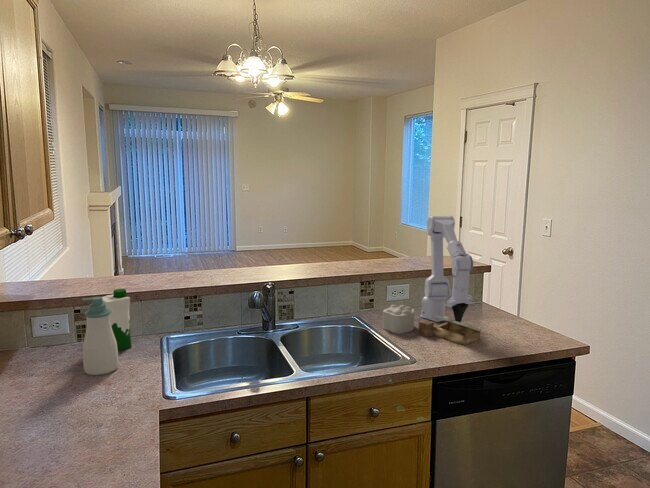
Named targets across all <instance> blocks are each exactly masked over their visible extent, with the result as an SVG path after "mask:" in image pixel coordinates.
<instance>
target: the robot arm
mask: <svg viewBox="0 0 650 488" xmlns="http://www.w3.org/2000/svg"><path fill="white" fill-rule="evenodd" d="M455 222H456V220H455V218H454V216H453V215H430V216H429V217H428V219H427V224H426V228H427V230H426V231H427V236H429V237H430V249H431V251H430V252H431V256H430V257H431V258H430V259H431V261H430V263H431V275H430V276H429V277H427V278H426V279H425V280H424V281H425V282H424V287H423V291H424V292H423V293H424V297H422V300H421V306H420V307H421V309H420V315H419V317H420V318H424V319H425V320H428V321H431V322H436V323H440V322H442V321H444V320H443V319H440V318H437V317H435V316H436V315H438V316H441V317H444V318H447V319H449V317H448V316H445V315H446V314H445V312H446V308H447V307H448V308H451V309H452V312H453V315H454V321H457V322H461V323H462V320H463V317H464V314H465V312H466V310H467V309H468V307H469V303H471V301H473V295H471V294H469V286H470V285H469V284H470V272H471V271H472V270H473V269H474V260H473V257H472V256H471V255H469V253H466V250H465V248H464V246H463V243H462V242H461V241H459V240H458V239H457V235H456V233H455V230H454V229H455V224H456V223H455ZM444 239H445V241H446V242H447V247H446V249H447V252H448V254H449V256H450V259H451V262H450V264H451V265H450V266H451V274H452V278H453V279H452V287H451V284H450V280H449V279H448V278H447V277H446V276H445V274H444ZM451 288H452V289H451ZM450 295H451V297H450ZM449 297H450V298H449ZM448 298H449V299H448ZM446 300H447V301H446Z"/></svg>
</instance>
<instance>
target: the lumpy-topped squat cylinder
mask: <svg viewBox="0 0 650 488" xmlns="http://www.w3.org/2000/svg"><path fill="white" fill-rule="evenodd" d="M381 325H382V329H383V330H386V331H389V332H390V333H392V334H405V333H409V332H411V331H413V330H414V328H415V309H414V308H412V307H411V306H407V305H405V304H401V305H399V306H398V305H397V304H391V305H390V306H389V307H388V308H385V309H383V311H382V323H381Z"/></svg>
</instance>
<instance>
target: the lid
mask: <svg viewBox="0 0 650 488" xmlns="http://www.w3.org/2000/svg"><path fill="white" fill-rule="evenodd" d="M435 317H437V318H440V319H443V321H446V322H451V323H454V324H457V325H461V326H464V327H467V328H470V329H474V330H477V331H480V332H481V328H478V327H477V326H476V327H475V326H473V325H470V324H467V323H463V322H462V321H461V322H457V321H455V319H450V318H448V319H447V318H444V317H441V316H438V315H436V316H435Z"/></svg>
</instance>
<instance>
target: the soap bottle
mask: <svg viewBox="0 0 650 488" xmlns="http://www.w3.org/2000/svg"><path fill="white" fill-rule="evenodd" d="M102 297H103V296H94V297H89V298H88V297H85V298H81V300H82V302H89V301H91V303H90V304H89V305H88V309H87V311H85V312H84V314H83V315H84V316H85V317H86V330H85V335H84V338H83V339H84V340H83V344H82V362H83V371H84V373H86V374H87V375H90V376H103V375H107V374H110V373H112V372H114V371H116V370H117V369H118V367H119V365H120V361H119V360H120V359H119V351H118V348H117V342H116V339H115V336H114V333H113V330H112V327H111V322H110V313H111V310H110V309H108V308H106V303H104V302H103V298H102Z"/></svg>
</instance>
